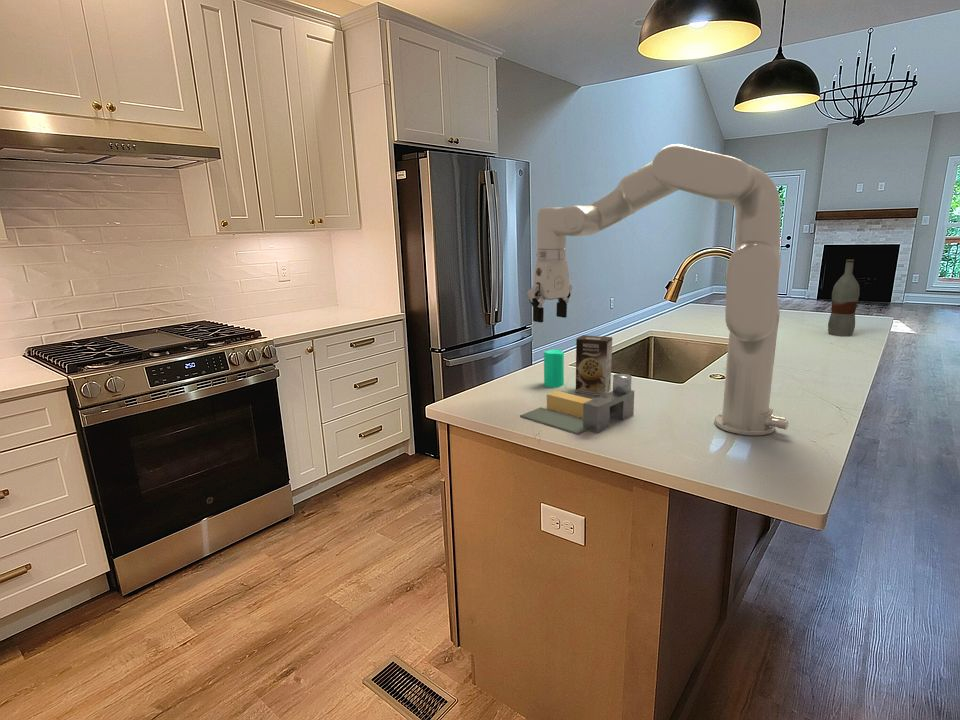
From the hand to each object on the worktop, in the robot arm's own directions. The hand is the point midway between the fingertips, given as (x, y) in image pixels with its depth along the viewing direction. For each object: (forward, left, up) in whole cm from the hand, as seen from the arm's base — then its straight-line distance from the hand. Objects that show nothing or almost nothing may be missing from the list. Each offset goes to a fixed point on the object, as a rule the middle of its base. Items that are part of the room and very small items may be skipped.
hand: (550, 319), depth 141 cm
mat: (-13, +13, -23) cm, 29 cm away
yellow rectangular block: (-12, +5, -23) cm, 26 cm away
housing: (-23, +5, -23) cm, 33 cm away
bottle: (-39, -139, -23) cm, 146 cm away
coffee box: (-6, -13, -23) cm, 27 cm away
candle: (+7, -11, -23) cm, 26 cm away
